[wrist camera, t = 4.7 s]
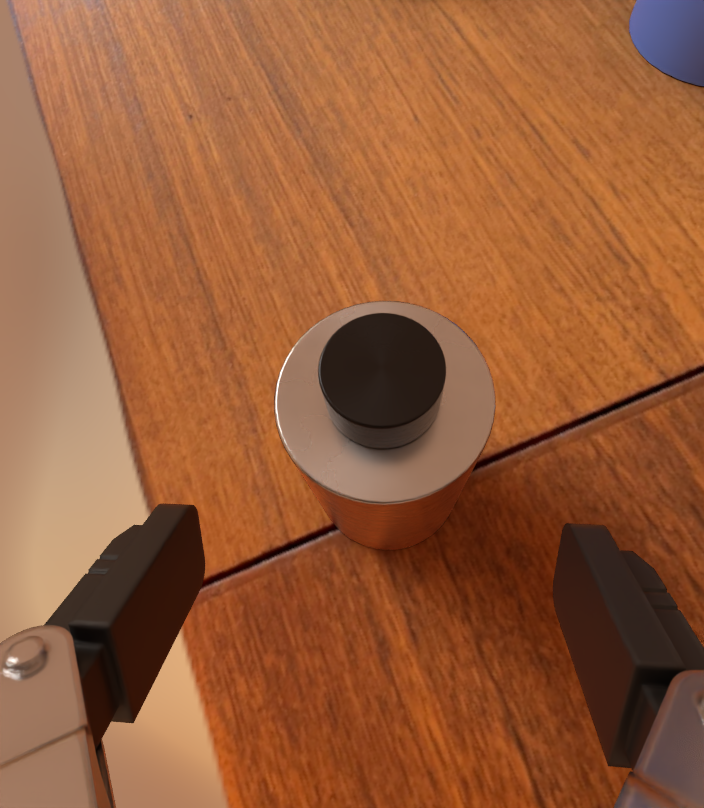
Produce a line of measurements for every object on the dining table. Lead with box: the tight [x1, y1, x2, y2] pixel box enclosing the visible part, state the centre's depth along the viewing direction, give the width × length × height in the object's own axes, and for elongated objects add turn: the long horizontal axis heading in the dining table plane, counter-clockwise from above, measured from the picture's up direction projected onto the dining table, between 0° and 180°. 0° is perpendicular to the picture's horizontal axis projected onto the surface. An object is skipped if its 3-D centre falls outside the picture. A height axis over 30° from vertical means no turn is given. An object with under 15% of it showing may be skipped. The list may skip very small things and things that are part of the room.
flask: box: [274, 301, 495, 550], centre depth 16 cm, size 5×5×10 cm
